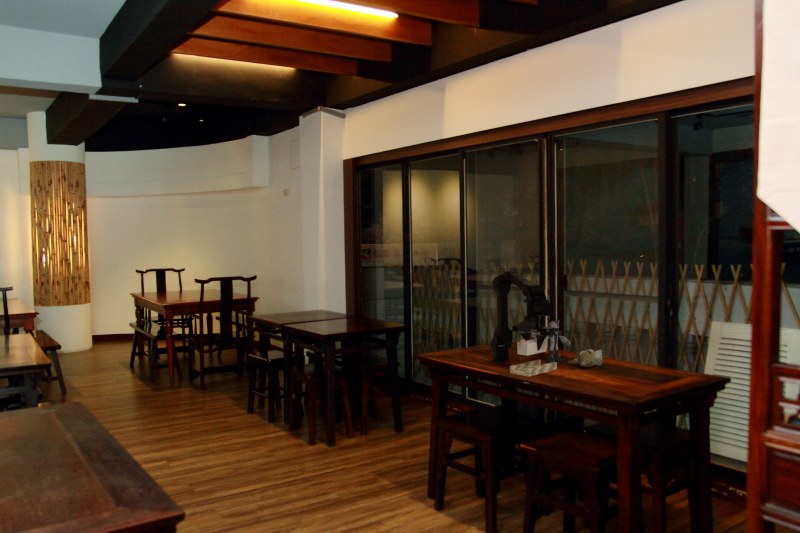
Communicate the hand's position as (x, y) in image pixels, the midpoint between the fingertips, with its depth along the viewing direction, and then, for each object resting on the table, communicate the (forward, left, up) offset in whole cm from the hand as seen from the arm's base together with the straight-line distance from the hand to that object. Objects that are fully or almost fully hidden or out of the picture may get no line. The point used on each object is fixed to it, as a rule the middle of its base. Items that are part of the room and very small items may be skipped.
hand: (533, 349), depth 275 cm
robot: (-5, +23, -10) cm, 25 cm away
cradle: (0, 0, -9) cm, 9 cm away
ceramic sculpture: (+12, +24, -10) cm, 29 cm away
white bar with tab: (0, -1, -1) cm, 1 cm away
